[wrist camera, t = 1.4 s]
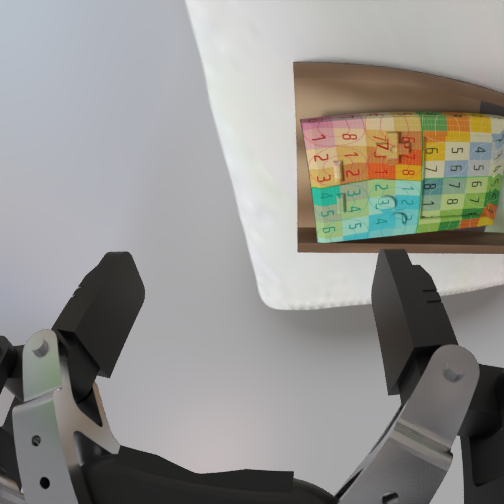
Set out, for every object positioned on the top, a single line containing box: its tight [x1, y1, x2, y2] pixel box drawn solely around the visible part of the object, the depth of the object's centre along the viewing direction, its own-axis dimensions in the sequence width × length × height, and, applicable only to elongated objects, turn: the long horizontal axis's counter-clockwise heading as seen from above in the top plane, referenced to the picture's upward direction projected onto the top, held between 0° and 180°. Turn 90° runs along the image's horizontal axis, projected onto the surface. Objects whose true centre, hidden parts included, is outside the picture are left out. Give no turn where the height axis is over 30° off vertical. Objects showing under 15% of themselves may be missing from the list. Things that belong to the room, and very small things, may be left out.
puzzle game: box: [300, 111, 504, 243], centre depth 25 cm, size 12×5×20 cm
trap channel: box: [293, 62, 504, 254], centre depth 24 cm, size 18×40×3 cm, turn 95°
